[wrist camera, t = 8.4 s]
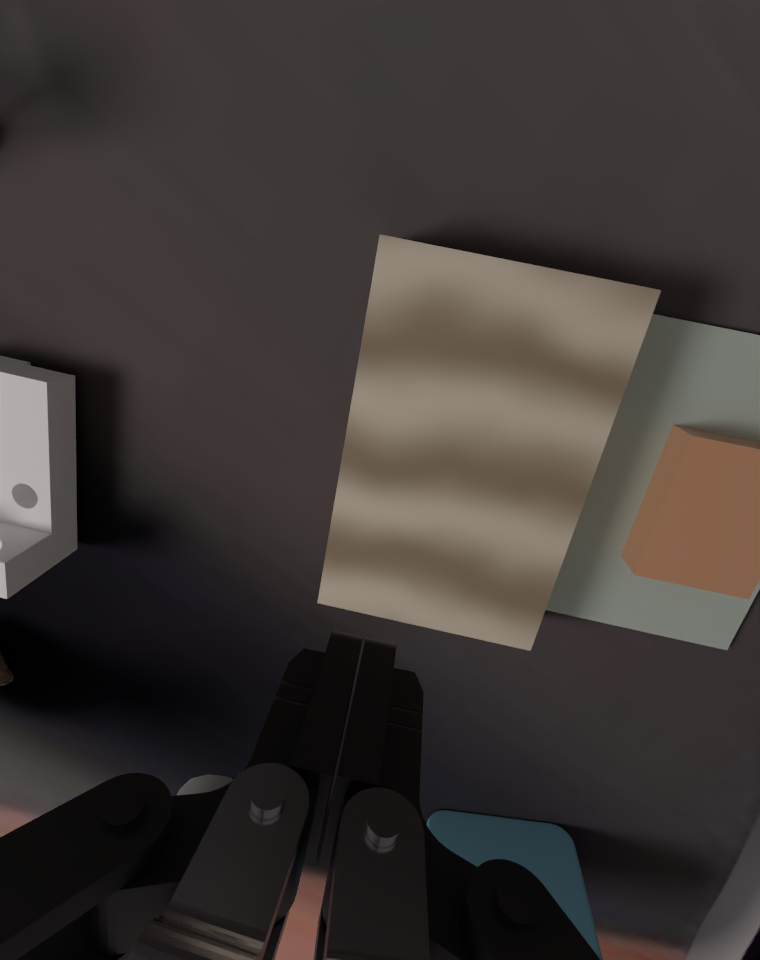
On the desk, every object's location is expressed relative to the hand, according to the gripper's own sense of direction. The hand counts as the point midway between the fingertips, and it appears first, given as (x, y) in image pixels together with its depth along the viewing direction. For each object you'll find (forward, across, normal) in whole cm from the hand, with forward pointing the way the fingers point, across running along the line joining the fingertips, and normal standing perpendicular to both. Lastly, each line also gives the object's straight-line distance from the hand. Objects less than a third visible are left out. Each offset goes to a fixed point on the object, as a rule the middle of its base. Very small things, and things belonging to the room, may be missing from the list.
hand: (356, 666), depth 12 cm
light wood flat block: (+22, -4, +1) cm, 23 cm away
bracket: (+23, +26, +8) cm, 35 cm away
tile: (+21, -19, +1) cm, 28 cm away
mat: (+22, -18, +1) cm, 29 cm away
